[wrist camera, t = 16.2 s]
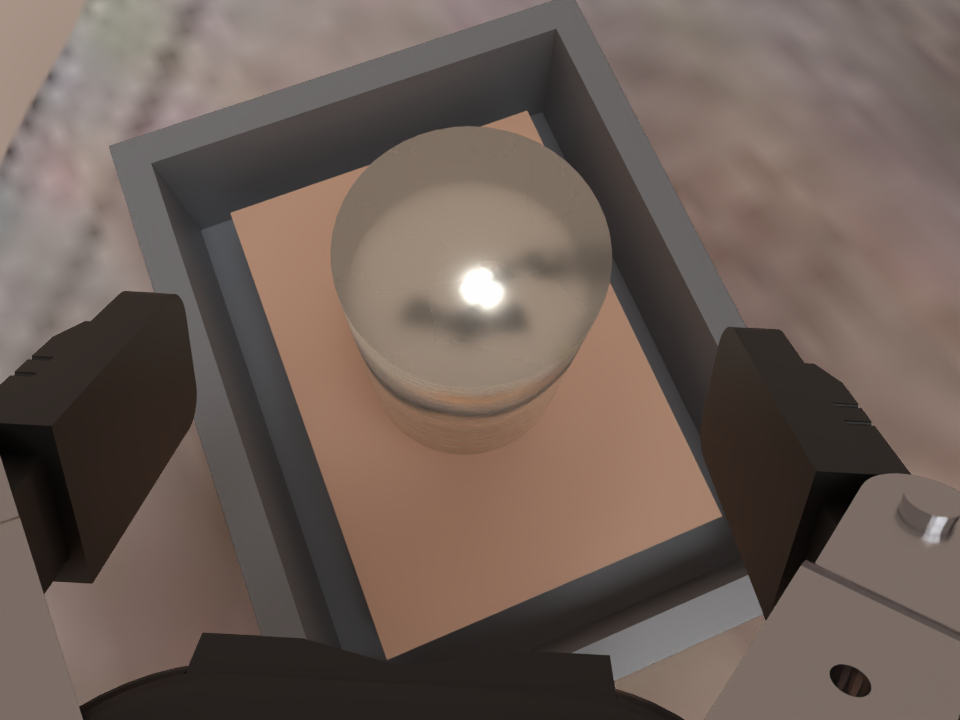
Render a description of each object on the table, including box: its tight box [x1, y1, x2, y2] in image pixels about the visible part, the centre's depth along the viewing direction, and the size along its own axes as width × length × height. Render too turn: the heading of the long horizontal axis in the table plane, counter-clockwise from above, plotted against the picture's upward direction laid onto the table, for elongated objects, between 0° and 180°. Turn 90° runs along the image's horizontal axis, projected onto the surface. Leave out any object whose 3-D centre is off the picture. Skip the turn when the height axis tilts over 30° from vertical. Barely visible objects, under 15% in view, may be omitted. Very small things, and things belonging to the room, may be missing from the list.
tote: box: [109, 0, 763, 681], centre depth 24 cm, size 15×19×6 cm
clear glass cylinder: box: [331, 126, 612, 454], centre depth 19 cm, size 6×6×8 cm
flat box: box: [230, 111, 722, 660], centre depth 24 cm, size 10×14×3 cm
